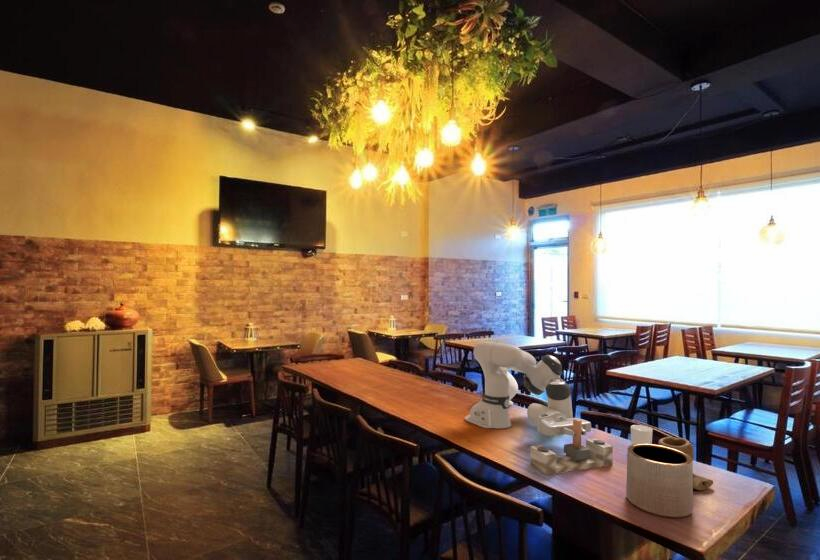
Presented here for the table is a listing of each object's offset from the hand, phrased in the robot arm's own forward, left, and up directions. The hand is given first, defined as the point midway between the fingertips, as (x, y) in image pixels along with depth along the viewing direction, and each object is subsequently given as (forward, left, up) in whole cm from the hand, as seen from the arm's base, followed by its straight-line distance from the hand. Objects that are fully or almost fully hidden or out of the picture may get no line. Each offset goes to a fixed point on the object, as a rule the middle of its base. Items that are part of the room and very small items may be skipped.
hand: (579, 433), depth 162 cm
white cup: (+11, +32, -12) cm, 36 cm away
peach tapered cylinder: (-1, +1, -10) cm, 10 cm away
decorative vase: (-69, +53, -12) cm, 88 cm away
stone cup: (+30, +12, -12) cm, 35 cm away
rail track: (-2, -2, -12) cm, 12 cm away
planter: (+29, -10, -12) cm, 33 cm away
